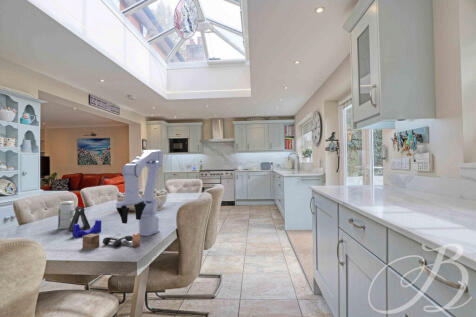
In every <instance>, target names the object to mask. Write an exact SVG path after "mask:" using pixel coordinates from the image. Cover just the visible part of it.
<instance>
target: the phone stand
mask: <svg viewBox="0 0 476 317" xmlns="http://www.w3.org/2000/svg"><path fill="white" fill-rule="evenodd" d="M85 210H86V209H85V207H82V206H76V207H74V216H73V219H72V221H71V224H70V226H69V228H68V230H69V231H70V232H71V233H73V224H78V223H79V220H80V219H81V222H82V226H80V229H81V230H83V231H86V230H90V229H91V225H90V223H89V220H88V218H87V216H86V213H85V212H86V211H85Z"/></svg>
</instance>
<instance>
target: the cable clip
mask: <svg viewBox="0 0 476 317" xmlns="http://www.w3.org/2000/svg"><path fill="white" fill-rule="evenodd" d="M80 227H81V226H80V224H78V223H77V224H73V232H72V237H73V238H76V239H79V238H83V236H85V235H88V234H98V233H101V232H102V220H100V219H96V220H95V222H94V224H93V226H92V227H90V229H87V230H81V229H80Z"/></svg>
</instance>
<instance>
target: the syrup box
mask: <svg viewBox="0 0 476 317" xmlns="http://www.w3.org/2000/svg"><path fill="white" fill-rule="evenodd" d="M74 214H75V201H74V200H64V201H61V202H59V203H58V218H57V219H58V222H57V225H58V226H57V230H66V229H69V226H70V224H71V221H72V219H73V216H74Z"/></svg>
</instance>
